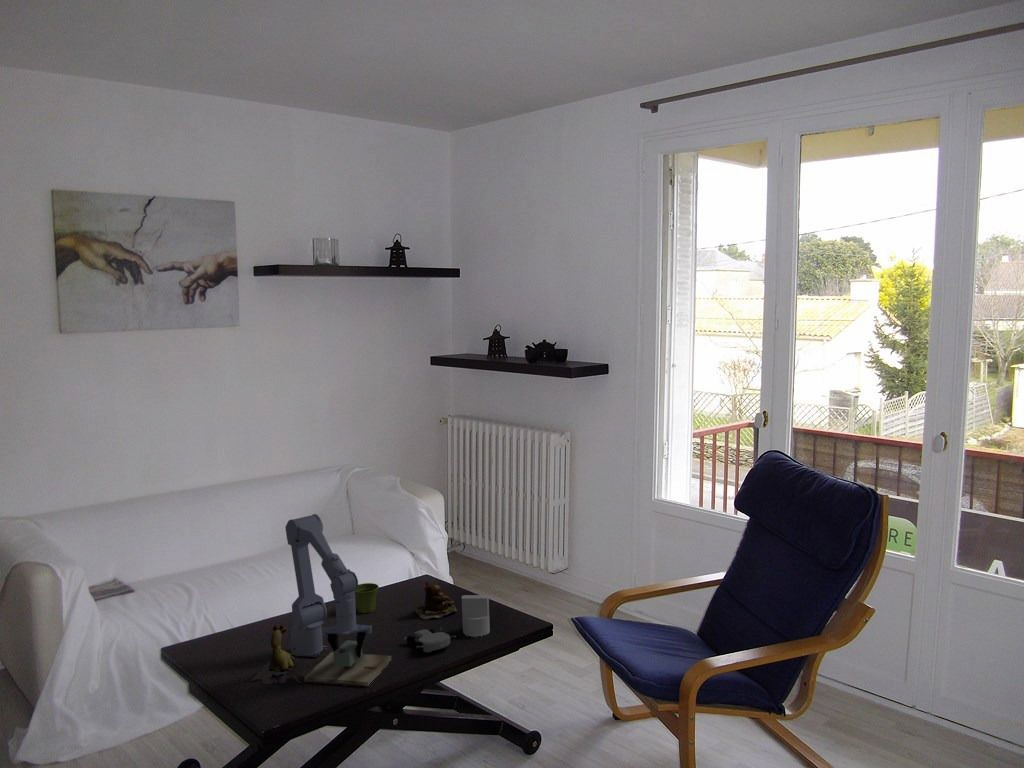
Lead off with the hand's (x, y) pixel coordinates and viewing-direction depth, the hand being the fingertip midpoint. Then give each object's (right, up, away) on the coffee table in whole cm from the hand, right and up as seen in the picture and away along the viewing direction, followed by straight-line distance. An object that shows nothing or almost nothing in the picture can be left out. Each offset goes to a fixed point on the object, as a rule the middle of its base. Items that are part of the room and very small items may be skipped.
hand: (348, 657), depth 244 cm
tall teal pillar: (0, -1, 0) cm, 1 cm away
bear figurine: (+22, 0, +46) cm, 52 cm away
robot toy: (+23, -3, +17) cm, 28 cm away
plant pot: (-3, 0, +50) cm, 50 cm away
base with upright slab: (+37, -1, +27) cm, 46 cm away
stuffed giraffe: (-19, -6, +2) cm, 20 cm away
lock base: (0, -4, 0) cm, 4 cm away
